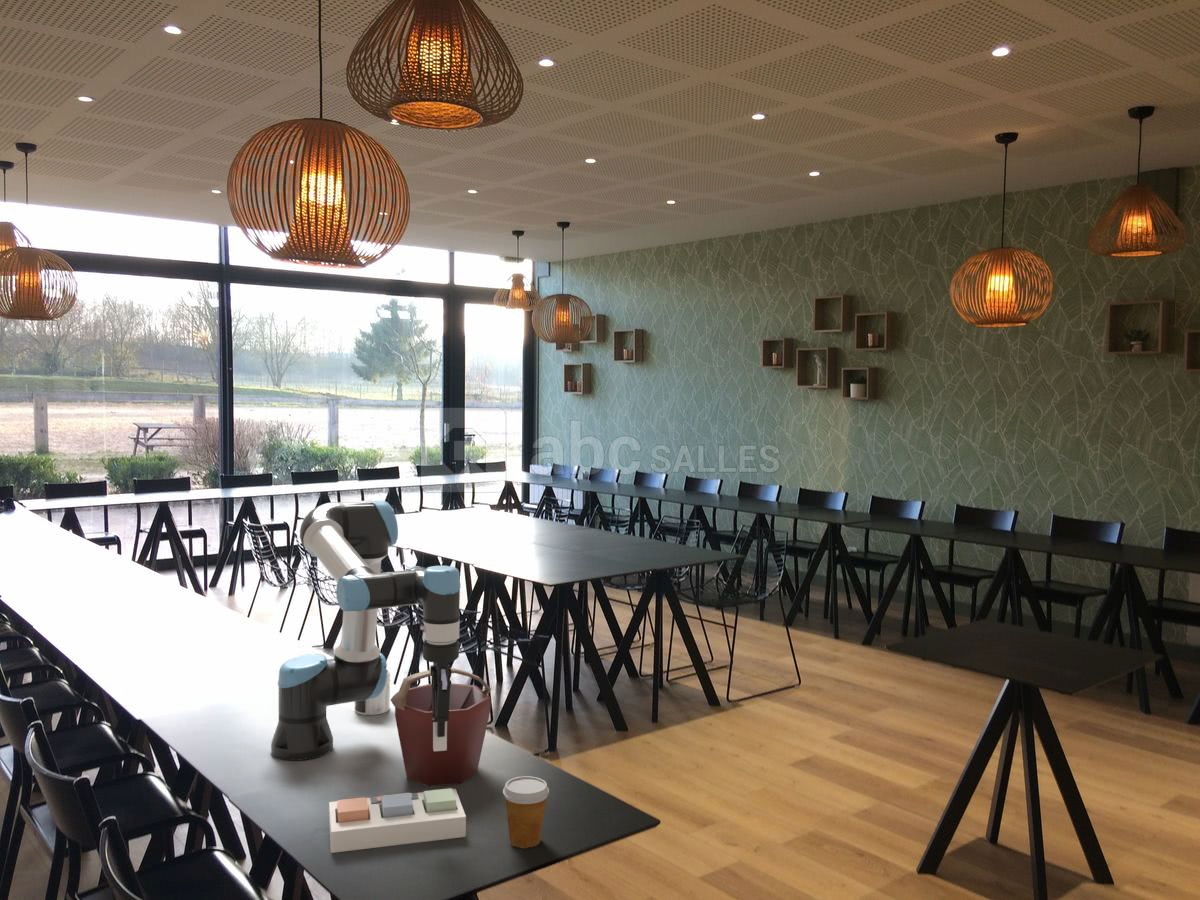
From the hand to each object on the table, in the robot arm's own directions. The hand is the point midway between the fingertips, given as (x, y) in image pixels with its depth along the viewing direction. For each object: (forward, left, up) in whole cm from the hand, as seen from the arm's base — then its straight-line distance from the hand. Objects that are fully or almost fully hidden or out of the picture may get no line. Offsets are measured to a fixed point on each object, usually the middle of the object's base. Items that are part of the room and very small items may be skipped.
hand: (439, 749), depth 200 cm
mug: (-75, -9, -17) cm, 77 cm away
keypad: (0, -9, -16) cm, 19 cm away
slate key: (0, -9, -13) cm, 15 cm away
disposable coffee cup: (+12, +16, -17) cm, 26 cm away
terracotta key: (0, -18, -13) cm, 22 cm away
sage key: (0, 0, -13) cm, 13 cm away
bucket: (-28, +4, -17) cm, 33 cm away
